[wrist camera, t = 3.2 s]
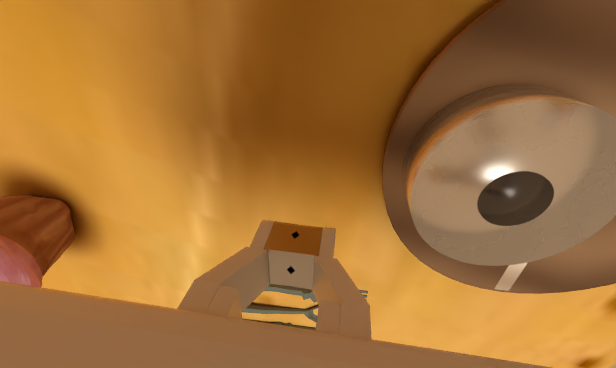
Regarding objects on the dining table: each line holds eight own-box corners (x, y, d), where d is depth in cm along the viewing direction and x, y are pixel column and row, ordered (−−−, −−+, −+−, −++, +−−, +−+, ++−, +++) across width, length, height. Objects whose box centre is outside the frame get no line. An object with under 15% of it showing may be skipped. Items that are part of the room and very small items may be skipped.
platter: (428, -72, 11) (434, -78, 10) (1063, -73, 9) (1130, -80, 8) (362, 264, 22) (362, 273, 21) (641, 299, 20) (652, 311, 19)
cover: (424, 77, 13) (441, 95, 11) (632, 89, 12) (707, 111, 10) (389, 220, 18) (394, 256, 16) (535, 236, 17) (568, 278, 15)
